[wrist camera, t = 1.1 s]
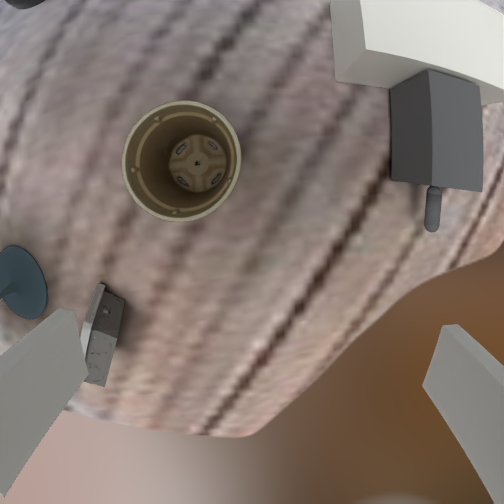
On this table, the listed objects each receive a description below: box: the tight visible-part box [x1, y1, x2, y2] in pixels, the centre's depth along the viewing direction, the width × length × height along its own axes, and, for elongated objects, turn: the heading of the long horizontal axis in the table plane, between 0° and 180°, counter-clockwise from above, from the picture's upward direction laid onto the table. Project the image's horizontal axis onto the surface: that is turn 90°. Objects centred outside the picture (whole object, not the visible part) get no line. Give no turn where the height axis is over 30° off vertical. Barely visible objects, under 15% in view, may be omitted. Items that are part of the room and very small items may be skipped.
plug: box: [390, 70, 483, 232], centre depth 24 cm, size 20×6×8 cm, turn 0°
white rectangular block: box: [330, 0, 504, 106], centre depth 22 cm, size 10×18×10 cm, turn 90°
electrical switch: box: [79, 284, 125, 387], centre depth 31 cm, size 9×5×9 cm, turn 155°
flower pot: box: [122, 101, 241, 222], centre depth 26 cm, size 9×9×9 cm
